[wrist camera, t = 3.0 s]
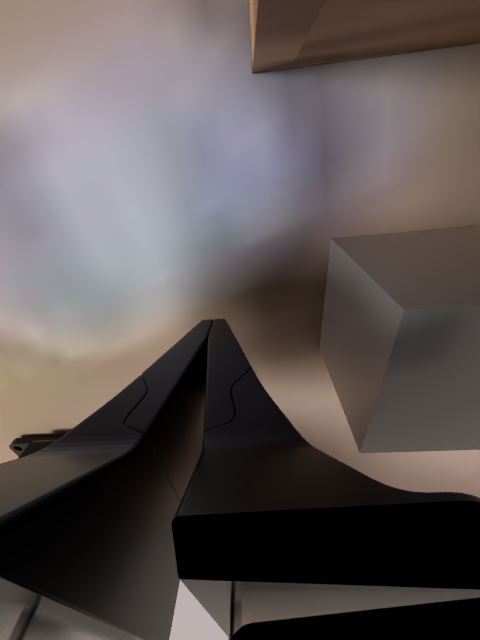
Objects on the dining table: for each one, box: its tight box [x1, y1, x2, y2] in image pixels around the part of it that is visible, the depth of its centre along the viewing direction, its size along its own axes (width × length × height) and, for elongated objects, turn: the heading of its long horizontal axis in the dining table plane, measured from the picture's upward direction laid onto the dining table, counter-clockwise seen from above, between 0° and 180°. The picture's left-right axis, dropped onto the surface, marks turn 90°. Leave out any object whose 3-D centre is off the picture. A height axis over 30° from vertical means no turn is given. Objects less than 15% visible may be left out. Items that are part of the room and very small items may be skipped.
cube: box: [320, 226, 480, 453], centre depth 8 cm, size 5×5×5 cm
